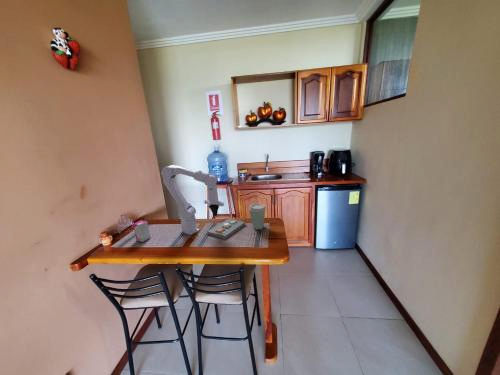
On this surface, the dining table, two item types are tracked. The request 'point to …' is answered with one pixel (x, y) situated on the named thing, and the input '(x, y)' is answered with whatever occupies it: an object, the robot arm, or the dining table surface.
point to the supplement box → (141, 231)
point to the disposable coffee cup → (257, 215)
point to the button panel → (228, 231)
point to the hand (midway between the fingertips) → (215, 215)
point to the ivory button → (226, 225)
